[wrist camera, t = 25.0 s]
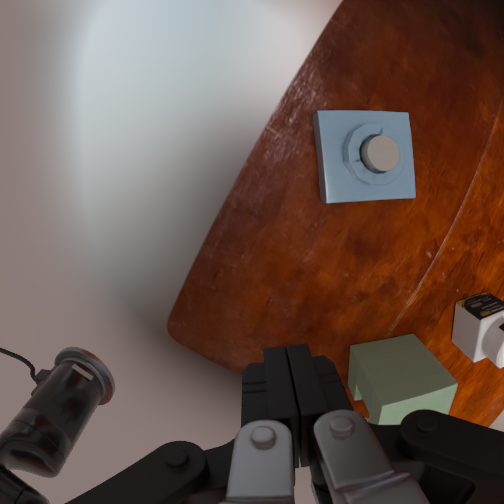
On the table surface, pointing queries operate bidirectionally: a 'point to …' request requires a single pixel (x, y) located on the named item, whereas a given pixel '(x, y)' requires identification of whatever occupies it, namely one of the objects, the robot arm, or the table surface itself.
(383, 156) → the short grey cylinder plug
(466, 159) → the table surface
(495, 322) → the medicine bottle
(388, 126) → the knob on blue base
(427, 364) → the green block with peg
